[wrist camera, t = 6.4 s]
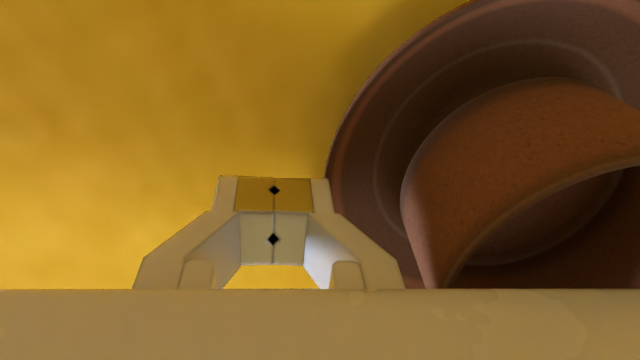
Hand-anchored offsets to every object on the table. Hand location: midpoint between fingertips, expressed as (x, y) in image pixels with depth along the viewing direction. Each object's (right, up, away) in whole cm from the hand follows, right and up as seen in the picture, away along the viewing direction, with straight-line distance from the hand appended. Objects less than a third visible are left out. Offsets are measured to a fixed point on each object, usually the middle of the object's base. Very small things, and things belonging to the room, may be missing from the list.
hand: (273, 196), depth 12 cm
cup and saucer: (+7, +1, +3) cm, 8 cm away
